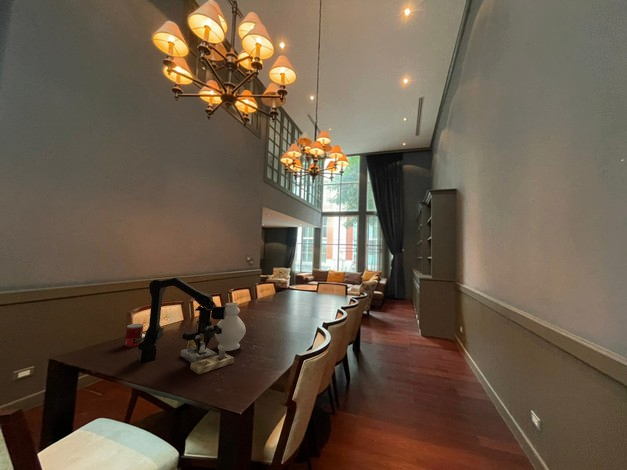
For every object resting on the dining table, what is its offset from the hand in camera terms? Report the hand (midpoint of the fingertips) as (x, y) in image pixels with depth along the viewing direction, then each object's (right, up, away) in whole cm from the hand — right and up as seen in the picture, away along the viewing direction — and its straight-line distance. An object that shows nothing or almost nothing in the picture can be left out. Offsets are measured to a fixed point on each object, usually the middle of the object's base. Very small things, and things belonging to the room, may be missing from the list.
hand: (201, 350), depth 130 cm
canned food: (-46, -4, +14) cm, 48 cm away
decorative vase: (+8, -7, +18) cm, 21 cm away
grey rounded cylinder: (0, -4, 0) cm, 4 cm away
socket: (-2, -4, +1) cm, 5 cm away
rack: (+9, -4, -8) cm, 12 cm away
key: (-6, -1, +4) cm, 7 cm away
